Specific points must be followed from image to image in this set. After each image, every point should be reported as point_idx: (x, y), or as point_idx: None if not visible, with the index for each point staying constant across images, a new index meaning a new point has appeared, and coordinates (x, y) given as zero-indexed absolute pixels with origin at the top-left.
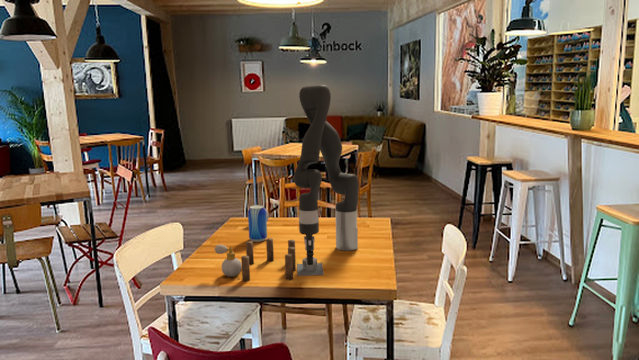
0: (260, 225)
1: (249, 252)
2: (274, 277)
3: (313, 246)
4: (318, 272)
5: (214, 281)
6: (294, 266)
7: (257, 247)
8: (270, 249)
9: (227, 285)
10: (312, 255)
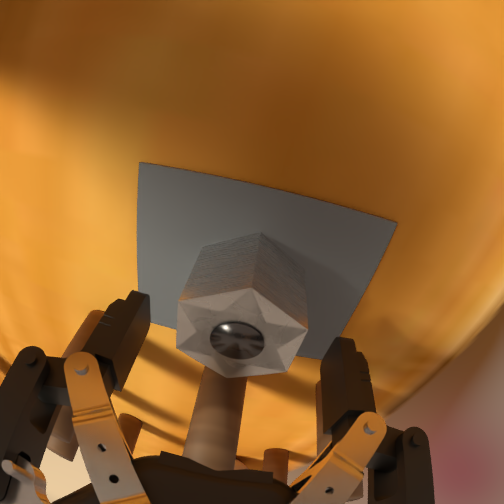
0: None
1: None
2: (292, 415)
3: (347, 497)
4: (342, 247)
5: None
6: (242, 377)
7: (4, 354)
8: None
9: (293, 467)
10: (417, 434)
